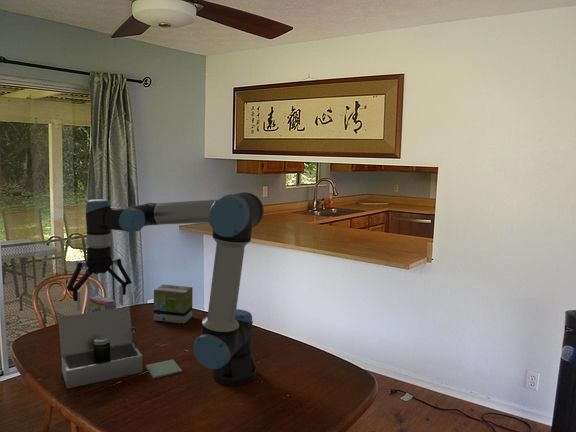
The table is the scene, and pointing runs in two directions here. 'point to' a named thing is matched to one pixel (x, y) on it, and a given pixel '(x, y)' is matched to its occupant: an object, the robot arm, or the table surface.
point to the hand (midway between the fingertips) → (100, 307)
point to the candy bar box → (101, 304)
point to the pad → (163, 368)
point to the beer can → (101, 349)
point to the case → (80, 337)
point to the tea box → (173, 303)
